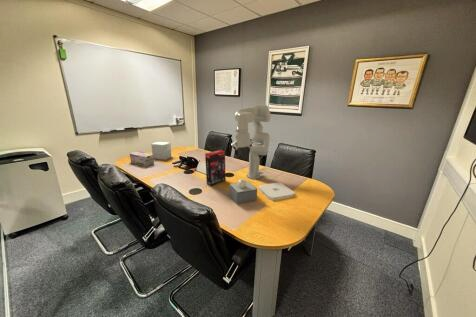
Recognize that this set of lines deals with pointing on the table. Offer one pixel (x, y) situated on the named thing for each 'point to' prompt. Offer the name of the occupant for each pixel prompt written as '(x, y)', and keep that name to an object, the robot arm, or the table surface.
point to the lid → (248, 188)
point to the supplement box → (161, 150)
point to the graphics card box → (215, 167)
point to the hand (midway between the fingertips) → (242, 153)
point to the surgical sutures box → (141, 158)
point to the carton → (242, 195)
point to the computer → (276, 191)
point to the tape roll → (241, 183)
